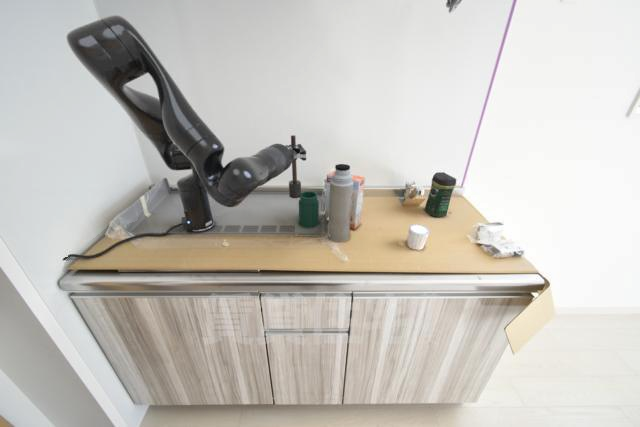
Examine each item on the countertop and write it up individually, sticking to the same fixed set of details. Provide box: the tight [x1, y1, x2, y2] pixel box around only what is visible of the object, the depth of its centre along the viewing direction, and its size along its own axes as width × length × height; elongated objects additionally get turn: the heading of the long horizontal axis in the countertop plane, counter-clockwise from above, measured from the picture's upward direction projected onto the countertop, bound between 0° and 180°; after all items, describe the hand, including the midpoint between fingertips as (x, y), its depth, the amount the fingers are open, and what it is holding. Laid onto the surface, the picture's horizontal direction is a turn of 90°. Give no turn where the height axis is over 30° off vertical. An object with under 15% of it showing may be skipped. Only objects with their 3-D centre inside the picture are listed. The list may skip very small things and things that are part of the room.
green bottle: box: [298, 190, 320, 229], centre depth 98 cm, size 8×8×13 cm
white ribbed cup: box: [406, 224, 431, 251], centre depth 87 cm, size 7×7×7 cm
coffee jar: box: [424, 171, 457, 218], centre depth 106 cm, size 10×8×19 cm
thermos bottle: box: [327, 163, 354, 243], centre depth 86 cm, size 8×8×28 cm
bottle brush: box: [288, 134, 302, 199], centre depth 77 cm, size 4×4×20 cm
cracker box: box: [325, 170, 366, 230], centre depth 97 cm, size 14×6×21 cm, turn 58°
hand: (297, 146), depth 77 cm, fingers closed on bottle brush, 1 cm apart
